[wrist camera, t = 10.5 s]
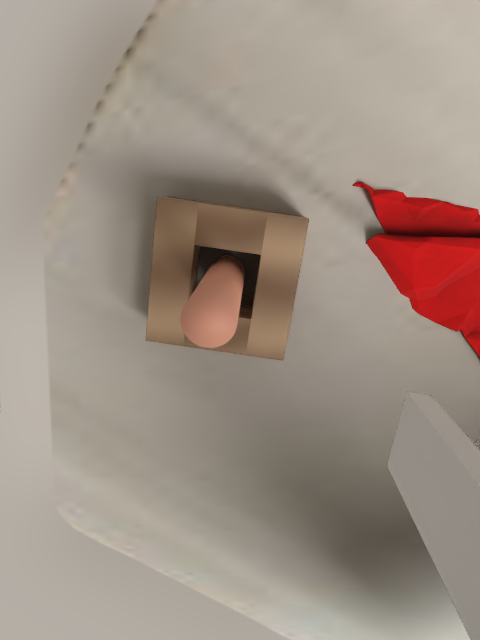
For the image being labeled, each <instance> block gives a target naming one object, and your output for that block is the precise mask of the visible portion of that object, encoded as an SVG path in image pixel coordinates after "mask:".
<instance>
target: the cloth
mask: <svg viewBox="0 0 480 640" xmlns="http://www.w3.org/2000/svg"><path fill="white" fill-rule="evenodd" d="M352 186H358V187H364V188H365V189H366V190H367V191H368V192H369V194H370V196H371V199H372V202H373V205H374V209H375V212H376V215H377V218H378V220H379V221H380V223H381V225H382V227H383V229H384V230H385V232H386V234H381V233H380V234H378V235H376V236H374V237H373V238H372V239H370V240H368V241H367V242H366V244H367V245H368V246H369V248H370V249H371V250H372V252H373V253H374V254H375V255H376V256H377V258H378V259H379V261H380V262H381V264H382V265H383V267H384V268H385V270H386V271H387V273H388V274H389V276H390V277H391V279H392V281H393V282H394V284H395V285H396V287H397V288H398V290H399V291H400V293H401V294H403V295H405V296H406V297H408V298H409V299H410V302H411V305H412V308H413V309H414V310H415V311H416V312H417V313H418V314H420V315H422V316H424V317H426V318H428V319H430V320H432V321H434V322H436V323H438V324H440V325H442V326H445V327H447V328H449V329H451V330H454V331H456V332H457V331H460V330H461V332H462V334H463V336H464V337H465V339H466V340H467V341H468V342H469V344H470V345H471V346H472V347H473V349H474V350H475V351H476V353H477V354H478V355H479V357H480V215H479V211H478V209H474V208H469V207H464V206H459V205H454V204H452V203H449V202H441V201H437V200H433V199H429V198H413V197H406V196H405V195H404V193H402V192H396V191H389V190H374V189H373V188H371V187H370V186H369V185H367V184H365V183H363V182H359V183H355V184H353V185H352Z"/></svg>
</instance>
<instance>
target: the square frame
mask: <svg viewBox="0 0 480 640" xmlns="http://www.w3.org/2000/svg"><path fill="white" fill-rule="evenodd" d="M308 223H309V219H307V218H305V217H302V216H295V215H289V214H282V213H275V212H268V211H261V210H255V209H248V208H241V207H234V206H227V205H221V204H214V203H207V202H200V201H193V200H187V199H180V198H173V197H157V205H156V217H155V230H154V242H153V255H152V267H151V280H150V292H149V305H148V318H147V330H146V341H153V342H159V343H166V344H173V345H180V346H187V347H194V348H200V349H207V350H214V351H221V352H228V353H235V354H242V355H248V356H255V357H262V358H269V359H276V360H283V359H284V354H285V348H286V343H287V337H288V332H289V326H290V321H291V316H292V310H293V305H294V299H295V294H296V288H297V283H298V278H299V272H300V267H301V261H302V256H303V250H304V245H305V240H306V234H307V229H308ZM200 246H205V247H212V248H218V249H225V250H232V251H239V252H246V253H252V254H259V255H260V257H259V263H258V270H257V276H256V283H255V289H254V296H253V302H252V306H248V305H241V304H240V310H239V317H238V324H237V329H236V331H235V334H234V335H233V337H232V338H231V339H230V340H229V341H228V342H227V343H225V344H224V345H222V346H219V347H215V348H205V347H201V346H198V345H196V344H194V343H193V342H191V341H190V340H189V339H188V338H187V337H186V335H185V334H184V332H183V330H182V327H181V321H180V320H181V313H182V310H183V308H184V306H185V304H186V303H187V301H188V300H189V298H190V297H191V295H192V294H193V292H194V291H195V289H196V280H197V271H198V262H199V254H200Z"/></svg>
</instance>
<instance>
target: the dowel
mask: <svg viewBox="0 0 480 640" xmlns="http://www.w3.org/2000/svg"><path fill="white" fill-rule="evenodd" d="M244 277H245V270H244V267H243V265H242V263H241V262H240V261H239V260H238V259H236V258H235V257H232V256H222V257H219V258H217V259H216V260H215V261H214V262H213V263H212V265H211V266H210V268H209V269H208V271H207V272H206V274H205V275H204V277H203V278H202V280H201V281H200V283H199V284H198V286H197V288H196V289H195V291H194V292H193V294H192V295H191V297H190V298H189V300H188V301H187V303H186V304H185V306H184V308H183V310H182V313H181V320H180V321H181V327H182V330H183V332H184V334H185V335H186V337H187V338H188V339H189V340H190V341H191V342H193V343H194V344H196V345H198V346H201V347H205V348H215V347H219V346H222V345H224V344H225V343H227V342H228V341H229V340H230V339H231V338H232V337H233V335H234V334H235V331H236V329H237V324H238V317H239V310H240V304H241V297H242V290H243V283H244Z"/></svg>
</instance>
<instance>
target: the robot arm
mask: <svg viewBox="0 0 480 640" xmlns="http://www.w3.org/2000/svg"><path fill="white" fill-rule="evenodd" d="M0 411H1V408H0ZM387 467H388V469H389V471H390V473H391V475H392V477H393V479H394V481H395V483H396V486H397V488H398V490H399V492H400V494H401V496H402V498H403V500H404V502H405V504H406V506H407V508H408V510H409V513H410V515H411V517H412V519H413V521H414V523H415V525H416V527H417V529H418V531H419V533H420V535H421V537H422V540H423V542H424V544H425V546H426V548H427V550H428V552H429V554H430V556H431V558H432V560H433V562H434V565H435V567H436V569H437V571H438V573H439V575H440V577H441V579H442V581H443V583H444V585H445V587H446V589H447V592H448V594H449V596H450V598H451V600H452V602H453V604H454V606H455V608H456V610H457V612H458V614H459V616H460V619H461V621H462V623H463V625H464V627H465V629H466V631H467V633H468V635H469V637H470V639H471V640H480V450H479V449H478V448H477V447H476V446H475V445H474V443H473V442H472V441H471V440H470V439H469V438H468V437H467V435H466V434H465V433H464V432H463V431H462V430H461V429H460V428H459V426H458V425H457V424H456V423H455V422H454V421H453V420H452V418H451V417H450V416H449V415H448V414H447V413H446V412H445V410H444V409H443V408H442V407H441V406H440V405H439V404H438V402H437V401H436V400H435V399H434V398H433V397H432V396H431V395H427V394H419V393H412V392H407V394H406V398H405V401H404V405H403V409H402V412H401V416H400V420H399V423H398V427H397V431H396V434H395V438H394V442H393V445H392V449H391V453H390V456H389V460H388V464H387Z"/></svg>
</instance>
